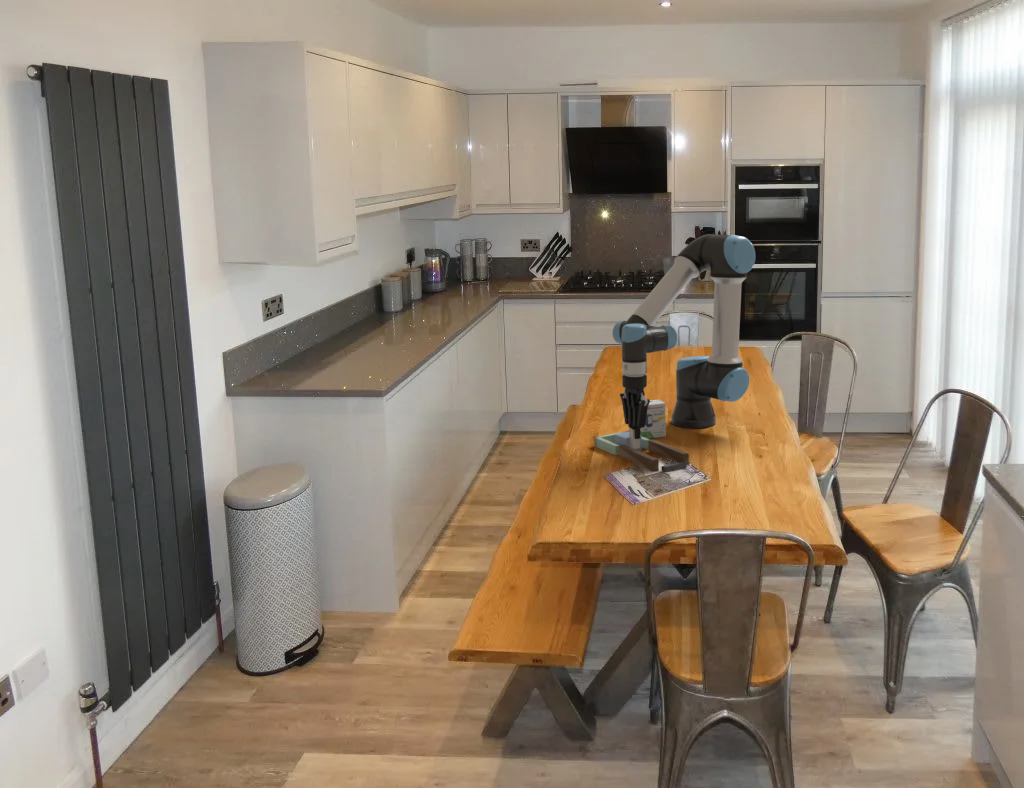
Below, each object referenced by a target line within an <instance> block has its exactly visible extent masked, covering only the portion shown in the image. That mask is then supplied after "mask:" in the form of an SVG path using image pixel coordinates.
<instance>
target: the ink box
mask: <svg viewBox="0 0 1024 788" xmlns="http://www.w3.org/2000/svg"><path fill="white" fill-rule="evenodd" d="M649 400H650V403H649V405H648V409H647V416H646V423H645V427H643V428H641V429H640V435H641V436H642V437H645V438H647V439H650V440H651V439H657V438H663V437H664V438H665V437H666V436H667V433H666V424H667V423H666V402H664V401H662V400H661V399H652V400H651V399H649Z"/></svg>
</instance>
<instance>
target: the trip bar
mask: <svg viewBox="0 0 1024 788" xmlns="http://www.w3.org/2000/svg"><path fill="white" fill-rule="evenodd" d="M687 466H688V465H687V463H686V462H679V463H676V462H674V463H670V464H669V463H668V464H666V465H664V464H663V465H661V472H663V473H667V472H672V471H678V470H682V469H687Z"/></svg>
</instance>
